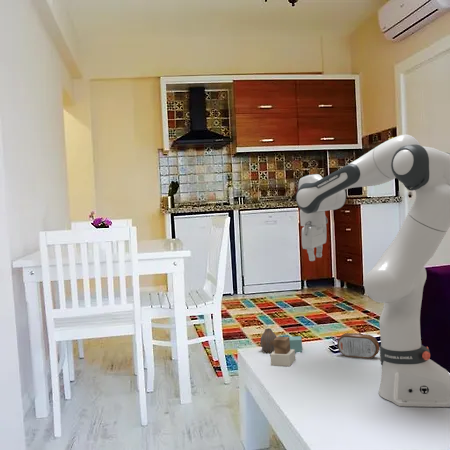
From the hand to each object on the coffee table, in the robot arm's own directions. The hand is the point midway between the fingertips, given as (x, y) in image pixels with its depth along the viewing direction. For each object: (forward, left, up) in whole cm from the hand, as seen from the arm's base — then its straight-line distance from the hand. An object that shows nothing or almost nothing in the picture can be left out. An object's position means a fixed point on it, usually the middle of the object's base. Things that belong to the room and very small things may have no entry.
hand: (315, 259), depth 182 cm
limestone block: (+14, +4, -37) cm, 40 cm away
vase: (+24, -9, -37) cm, 45 cm away
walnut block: (+14, +4, -33) cm, 36 cm away
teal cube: (+14, -11, -37) cm, 41 cm away
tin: (-11, -7, -37) cm, 40 cm away
